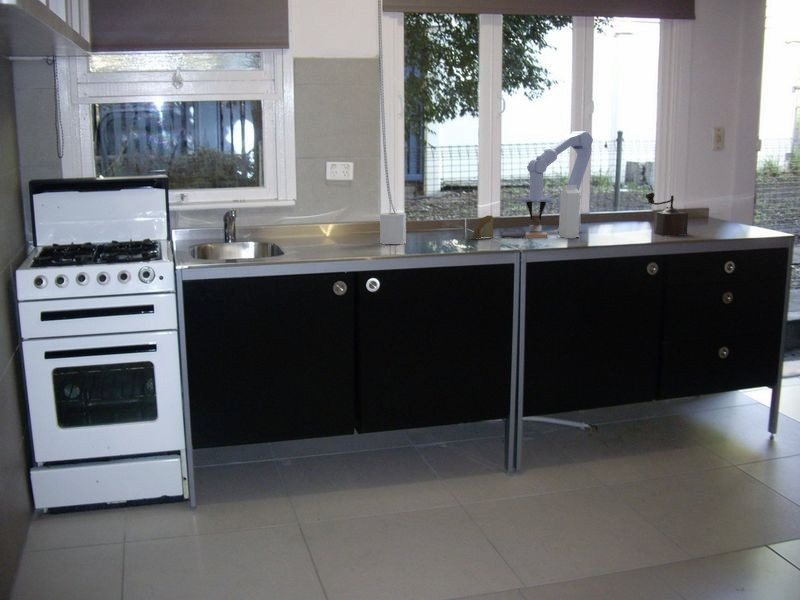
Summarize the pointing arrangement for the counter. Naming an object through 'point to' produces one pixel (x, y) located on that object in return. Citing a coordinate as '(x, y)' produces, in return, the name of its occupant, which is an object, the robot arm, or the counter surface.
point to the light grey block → (392, 228)
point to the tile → (536, 235)
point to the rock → (484, 228)
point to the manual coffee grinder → (668, 218)
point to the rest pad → (513, 234)
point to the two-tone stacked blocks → (535, 224)
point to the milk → (569, 212)
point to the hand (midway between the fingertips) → (535, 219)
